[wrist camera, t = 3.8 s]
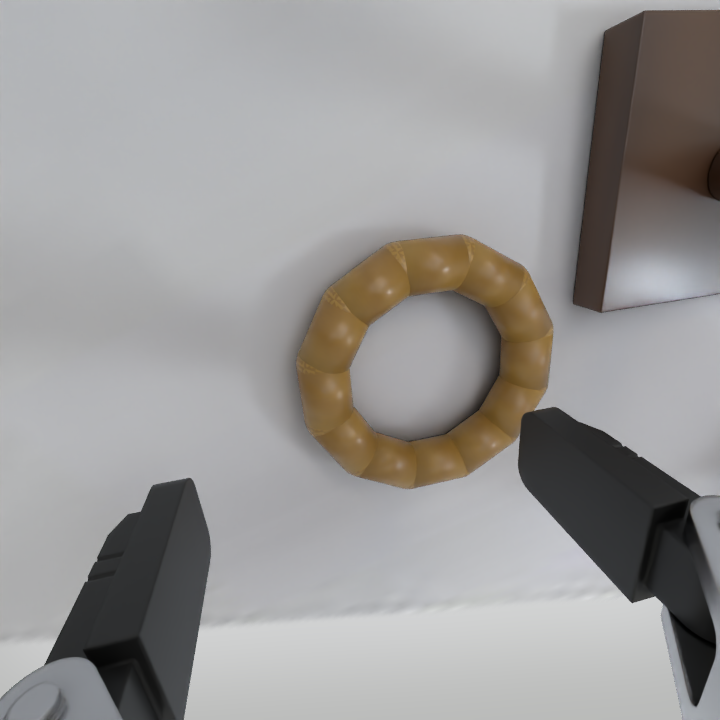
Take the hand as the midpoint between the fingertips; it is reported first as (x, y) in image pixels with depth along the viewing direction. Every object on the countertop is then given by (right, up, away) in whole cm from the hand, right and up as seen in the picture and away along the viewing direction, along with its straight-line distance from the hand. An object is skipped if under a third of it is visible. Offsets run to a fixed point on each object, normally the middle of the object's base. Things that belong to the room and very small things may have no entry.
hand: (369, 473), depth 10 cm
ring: (+2, +2, +5) cm, 6 cm away
